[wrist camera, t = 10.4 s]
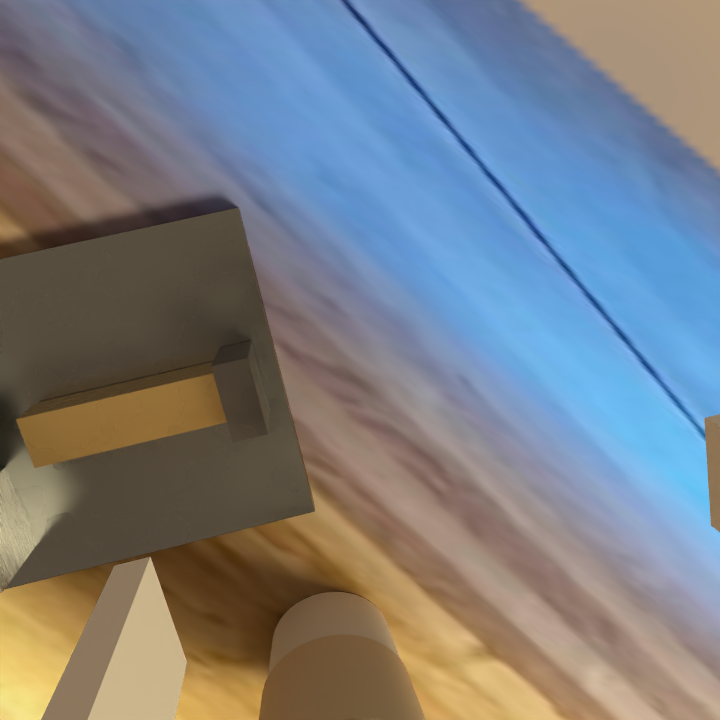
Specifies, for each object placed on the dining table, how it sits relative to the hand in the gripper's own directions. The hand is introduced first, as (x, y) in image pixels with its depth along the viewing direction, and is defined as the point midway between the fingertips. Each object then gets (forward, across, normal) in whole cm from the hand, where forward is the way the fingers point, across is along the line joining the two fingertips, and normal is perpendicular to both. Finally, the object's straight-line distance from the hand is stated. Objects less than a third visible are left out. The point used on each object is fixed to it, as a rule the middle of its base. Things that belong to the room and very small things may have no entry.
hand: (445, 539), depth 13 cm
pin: (+18, -10, 0) cm, 20 cm away
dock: (+19, -18, 0) cm, 26 cm away
